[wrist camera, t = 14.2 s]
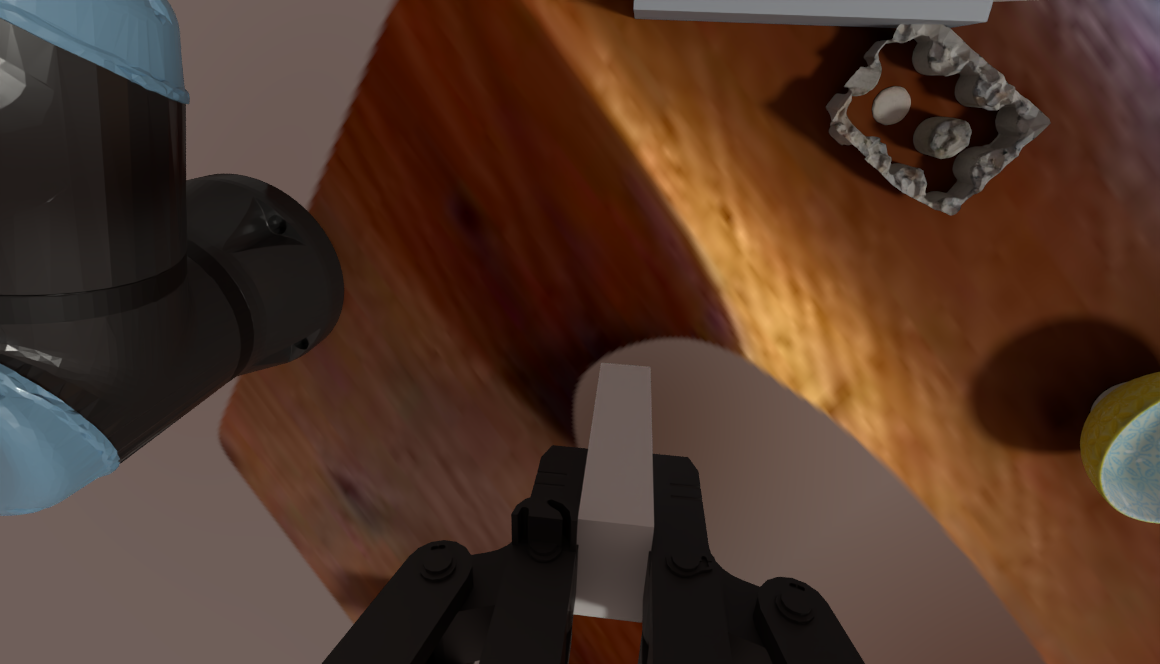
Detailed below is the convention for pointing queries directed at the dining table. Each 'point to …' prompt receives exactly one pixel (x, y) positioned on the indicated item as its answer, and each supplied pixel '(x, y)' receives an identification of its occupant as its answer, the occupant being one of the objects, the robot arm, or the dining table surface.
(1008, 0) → the lid
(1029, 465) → the dining table surface
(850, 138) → the egg carton
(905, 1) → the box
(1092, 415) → the bowl
